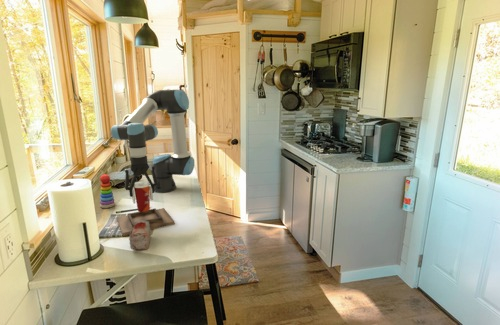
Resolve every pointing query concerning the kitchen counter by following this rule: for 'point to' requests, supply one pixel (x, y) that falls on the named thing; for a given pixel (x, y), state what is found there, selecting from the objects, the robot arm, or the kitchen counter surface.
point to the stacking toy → (106, 193)
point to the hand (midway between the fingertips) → (143, 200)
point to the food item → (140, 235)
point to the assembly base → (153, 216)
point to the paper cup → (142, 195)
